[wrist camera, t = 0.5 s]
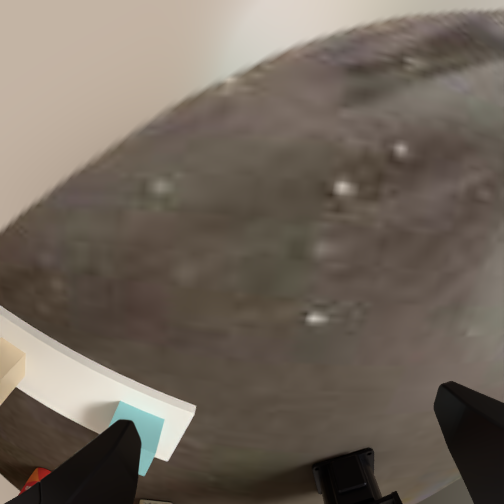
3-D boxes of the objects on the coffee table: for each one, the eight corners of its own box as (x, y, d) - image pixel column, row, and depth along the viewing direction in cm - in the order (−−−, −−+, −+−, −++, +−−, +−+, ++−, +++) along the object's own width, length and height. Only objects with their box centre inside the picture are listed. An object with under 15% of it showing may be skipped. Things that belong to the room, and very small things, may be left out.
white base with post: (196, 405, 24) (172, 568, 10) (169, 454, 26) (144, 584, 12) (0, 305, 22) (-109, 395, 7) (-1, 367, 23) (-79, 457, 9)
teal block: (164, 419, 24) (155, 453, 20) (152, 444, 24) (144, 476, 21) (120, 400, 23) (105, 433, 19) (112, 427, 24) (99, 457, 20)
